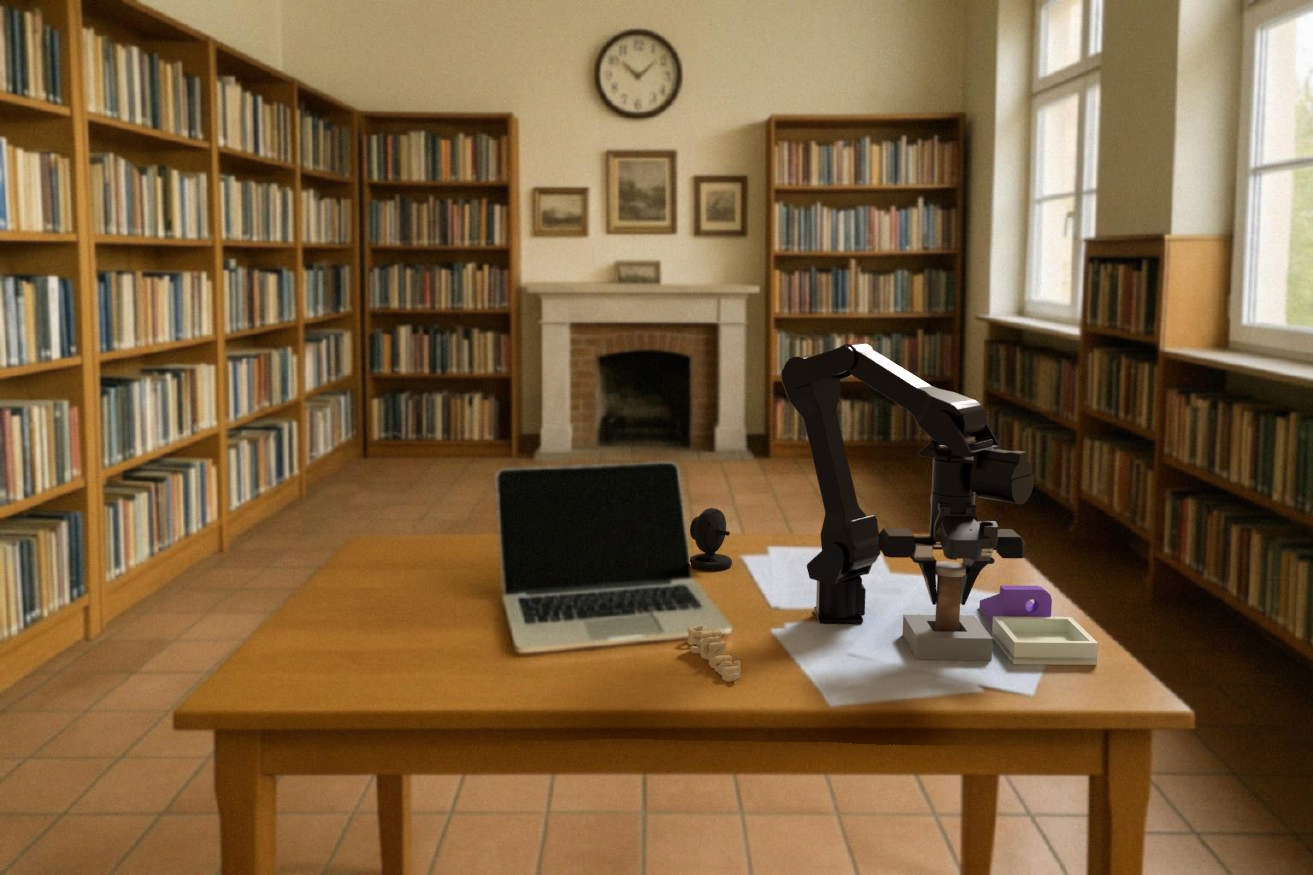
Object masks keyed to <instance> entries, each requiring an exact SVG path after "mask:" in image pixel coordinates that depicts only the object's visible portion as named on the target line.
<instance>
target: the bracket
mask: <svg viewBox="0 0 1313 875" xmlns="http://www.w3.org/2000/svg"><path fill="white" fill-rule="evenodd" d="M1032 600H1033V602H1032ZM1052 602H1053V598H1052V596H1051V594H1050V593H1049V592H1048V591H1047V590H1046V589H1045V588H1044V587H1042V586H1040V585H1006V584H1004V585H1000V586H999V593H997V594H995V595H991V596H989V597H986V598H984V599H981V600H979V609H980V611H981V612H982V613H983V614H984V615H985V617H986V618H987V619H988V620H989V621H990V622H991V624H993V617H1052V606H1053V605H1052Z"/></svg>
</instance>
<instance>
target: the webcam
mask: <svg viewBox="0 0 1313 875" xmlns="http://www.w3.org/2000/svg"><path fill="white" fill-rule="evenodd" d="M689 527H690V528H689V534H690V537H691V539H692V540H694V541H695V544H696V547H697V548H698V550H700V552H703V553H697V554H694V555H691V556H690V557H689V558H690V562H691V566H692V567H691V566H690V567H691V568H693V569H695V570H698V571H707V572H710V571H711V572H716V571H723V570H727V569H729V568H731V566H733V560H732V558H731V557H730V556H728V555H726V554H721V553H716V552H717V551H718V550H719V549H720V548H721V546H722V545H723V544H724V541H725V540H726V539H725V538H726V536H728V537H729V536H730V535H731V533H730V531H728V530H727V520H726V516H725V514H724V513H723V511H722V510H720V509H718V508H714V507H709V508H706V509H704V510H703V511H702V512H701V513H700V514H699V515H698V516H695V517H694V518H693V520H691V523H690V526H689Z"/></svg>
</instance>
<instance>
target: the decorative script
mask: <svg viewBox="0 0 1313 875" xmlns="http://www.w3.org/2000/svg"><path fill="white" fill-rule="evenodd" d="M686 628H687V632H688V634H687V635H688V636H687V639H686V640H687V644H688V645H689V646H690V647H689V651H690V652H691V653H693V654H700V657H701V658H702V659H705V660H708V666H710V668H712V669H714V672H715V673H717V674H719V675H721V679H722V680H723V681H725V682H727V683H728V682H730V683H733V682H734V681H736V680H737V679H741V661H740V660H733V657H732V656H731V655H728V654H725V655H724V654H723V655H722V654H721V652H724V651H725V650H726V648H727V642H726V641H721V637H722V631H721V630H720V629H712V630H707V626H706V625H698V626H696V627H693V626H687V627H686Z"/></svg>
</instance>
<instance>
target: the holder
mask: <svg viewBox="0 0 1313 875" xmlns="http://www.w3.org/2000/svg"><path fill="white" fill-rule="evenodd" d="M935 619H936V614H903V615H902V637H903V639H904V640H905V643H906V644H907V646H908V647H909V649H910V651H911V652H912V654H913V657H915V659H916V660H939V661H940V660H943V661H944V660H945V661H946V660H947V661H948V660H949V661H950V660H951V661H954V660H956V661H957V660H958V661H959V660H960V661H961V660H962V661H966V660H967V661H992V657H993V641H994V639H993V638H992V635H991V634H990V633H989V632H988V631H987V629H986V628H985V626H983V624H982V623H981V622H980V621H979V619H978V618H977V617H976V616H975V614H974V615H973V614H969V615H968V614H965V615H964V614H963V615H962V614H960V620H959V632H935Z"/></svg>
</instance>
